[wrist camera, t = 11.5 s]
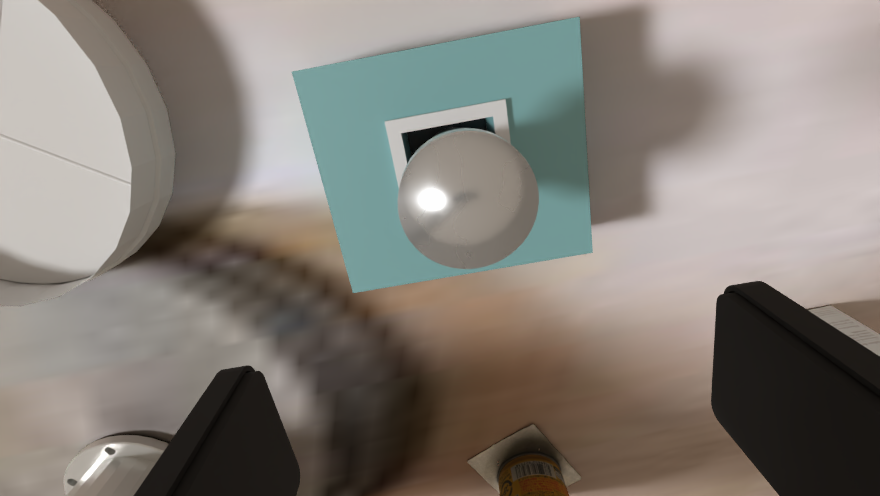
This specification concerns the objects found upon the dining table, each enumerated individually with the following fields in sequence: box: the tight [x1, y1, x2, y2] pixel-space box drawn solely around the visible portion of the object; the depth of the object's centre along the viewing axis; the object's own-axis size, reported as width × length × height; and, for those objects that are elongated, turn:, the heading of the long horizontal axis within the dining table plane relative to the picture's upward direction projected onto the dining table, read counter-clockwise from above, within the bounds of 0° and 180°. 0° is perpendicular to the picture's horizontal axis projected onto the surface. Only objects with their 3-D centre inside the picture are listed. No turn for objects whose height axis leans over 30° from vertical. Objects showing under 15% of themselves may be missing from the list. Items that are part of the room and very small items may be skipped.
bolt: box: [398, 126, 539, 269], centre depth 26 cm, size 6×6×12 cm
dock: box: [292, 17, 593, 293], centre depth 30 cm, size 14×16×5 cm
